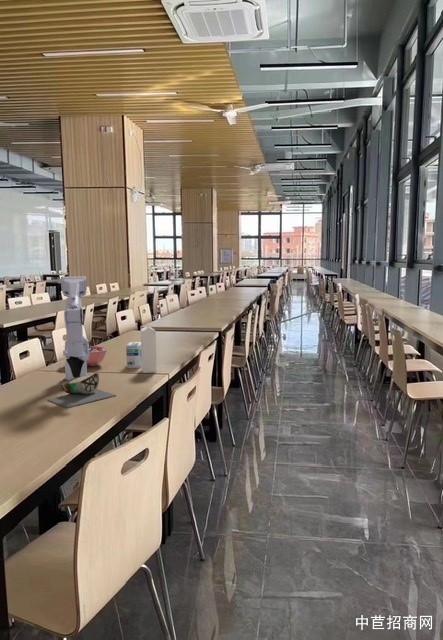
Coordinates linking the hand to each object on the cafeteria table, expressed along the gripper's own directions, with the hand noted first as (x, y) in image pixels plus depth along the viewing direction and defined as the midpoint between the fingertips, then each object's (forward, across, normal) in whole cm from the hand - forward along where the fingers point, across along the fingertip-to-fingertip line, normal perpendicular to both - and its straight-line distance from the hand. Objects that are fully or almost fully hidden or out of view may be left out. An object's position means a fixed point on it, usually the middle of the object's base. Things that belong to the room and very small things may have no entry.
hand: (76, 377), depth 181 cm
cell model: (+8, -44, +31) cm, 54 cm away
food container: (+6, -6, +1) cm, 9 cm away
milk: (+8, -13, +44) cm, 46 cm away
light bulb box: (+8, -27, +47) cm, 55 cm away
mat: (+7, +3, 0) cm, 8 cm away
